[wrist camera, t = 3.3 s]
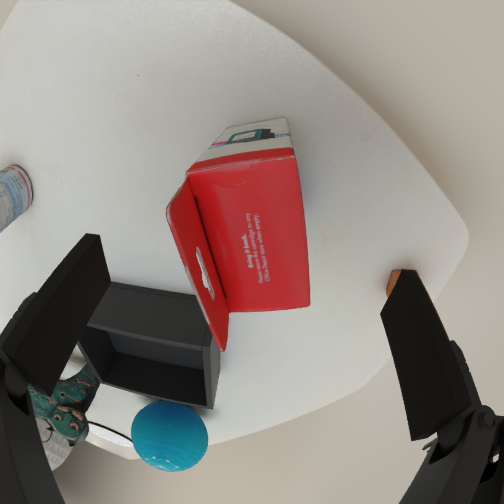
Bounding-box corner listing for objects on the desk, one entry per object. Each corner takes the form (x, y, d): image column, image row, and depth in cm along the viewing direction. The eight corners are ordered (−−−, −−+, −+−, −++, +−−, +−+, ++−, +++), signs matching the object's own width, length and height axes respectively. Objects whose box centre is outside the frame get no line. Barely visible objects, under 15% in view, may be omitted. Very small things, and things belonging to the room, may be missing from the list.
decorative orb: (146, 408, 55) (130, 464, 43) (137, 379, 46) (114, 449, 34) (210, 423, 56) (200, 482, 43) (216, 398, 47) (203, 473, 35)
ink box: (301, 211, 25) (317, 353, 13) (246, 218, 26) (218, 359, 14) (287, 114, 20) (303, 181, 8) (224, 125, 21) (151, 205, 9)
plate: (121, 444, 88) (120, 447, 87) (77, 421, 80) (76, 424, 79) (145, 444, 79) (144, 447, 78) (95, 419, 71) (93, 422, 70)
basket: (220, 298, 32) (210, 347, 26) (219, 370, 41) (213, 409, 35) (86, 276, 32) (60, 314, 27) (114, 349, 41) (99, 382, 36)
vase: (42, 372, 56) (6, 455, 33) (68, 377, 53) (30, 474, 30) (71, 397, 62) (42, 476, 39) (99, 403, 60) (70, 492, 37)
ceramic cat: (109, 363, 44) (73, 458, 28) (113, 379, 48) (83, 465, 32) (28, 326, 43) (-15, 404, 26) (36, 344, 46) (-1, 416, 30)
